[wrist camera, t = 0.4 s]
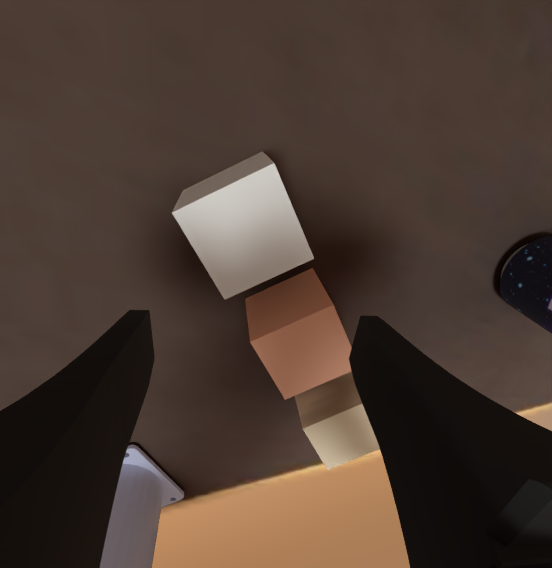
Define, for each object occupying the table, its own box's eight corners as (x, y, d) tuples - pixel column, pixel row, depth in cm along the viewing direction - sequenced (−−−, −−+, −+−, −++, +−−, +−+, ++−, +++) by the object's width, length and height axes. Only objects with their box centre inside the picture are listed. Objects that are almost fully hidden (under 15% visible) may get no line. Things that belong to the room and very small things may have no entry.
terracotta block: (274, 349, 26) (285, 399, 21) (244, 298, 23) (250, 341, 19) (335, 322, 25) (359, 367, 21) (312, 267, 23) (333, 304, 18)
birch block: (311, 415, 29) (327, 470, 25) (289, 376, 27) (302, 428, 22) (366, 392, 29) (391, 443, 24) (348, 351, 27) (373, 399, 22)
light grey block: (224, 261, 22) (224, 299, 17) (183, 189, 20) (171, 212, 15) (295, 228, 22) (314, 258, 17) (262, 151, 19) (274, 163, 15)
